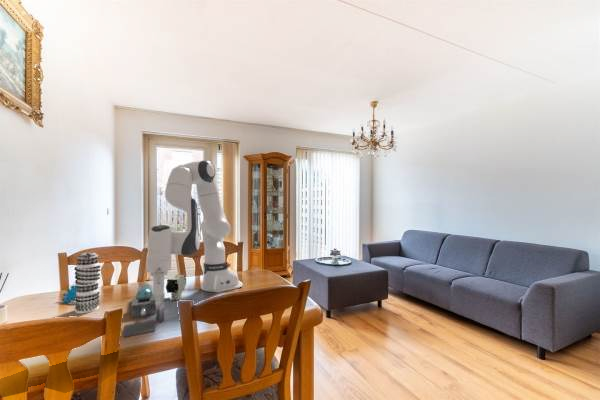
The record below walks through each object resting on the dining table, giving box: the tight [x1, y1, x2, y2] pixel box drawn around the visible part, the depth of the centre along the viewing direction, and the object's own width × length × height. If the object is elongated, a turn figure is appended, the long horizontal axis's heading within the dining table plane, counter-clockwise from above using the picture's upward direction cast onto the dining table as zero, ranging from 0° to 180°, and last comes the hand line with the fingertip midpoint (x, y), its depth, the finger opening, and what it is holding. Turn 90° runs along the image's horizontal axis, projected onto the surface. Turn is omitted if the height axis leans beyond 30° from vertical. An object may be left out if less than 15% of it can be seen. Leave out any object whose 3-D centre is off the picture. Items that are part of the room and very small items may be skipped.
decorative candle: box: [73, 251, 101, 314], centre depth 121 cm, size 9×9×25 cm
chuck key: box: [151, 292, 171, 324], centre depth 111 cm, size 7×3×11 cm, turn 119°
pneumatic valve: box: [165, 274, 187, 301], centre depth 135 cm, size 6×12×12 cm, turn 178°
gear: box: [61, 284, 77, 304], centre depth 132 cm, size 11×6×10 cm
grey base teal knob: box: [130, 283, 156, 319], centre depth 123 cm, size 9×29×7 cm, turn 29°
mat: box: [122, 319, 156, 338], centre depth 104 cm, size 10×10×1 cm
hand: (157, 300), depth 110 cm, fingers open, 8 cm apart
